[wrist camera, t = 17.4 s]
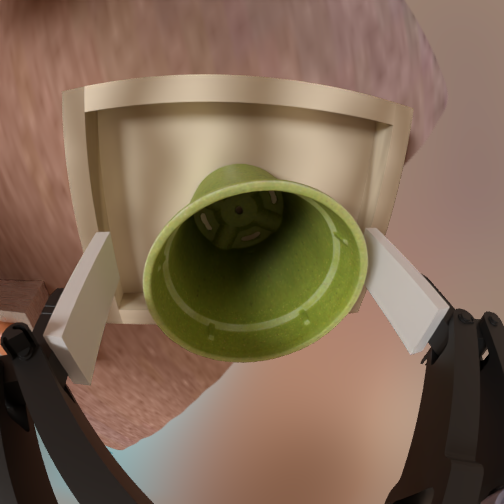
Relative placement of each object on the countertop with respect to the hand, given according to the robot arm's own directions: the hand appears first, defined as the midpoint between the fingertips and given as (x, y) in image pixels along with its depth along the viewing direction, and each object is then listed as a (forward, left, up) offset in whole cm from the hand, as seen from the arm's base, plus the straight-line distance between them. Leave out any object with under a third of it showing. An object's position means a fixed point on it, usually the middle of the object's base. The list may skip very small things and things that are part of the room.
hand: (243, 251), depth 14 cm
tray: (0, 0, -7) cm, 7 cm away
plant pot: (0, 0, -6) cm, 6 cm away
